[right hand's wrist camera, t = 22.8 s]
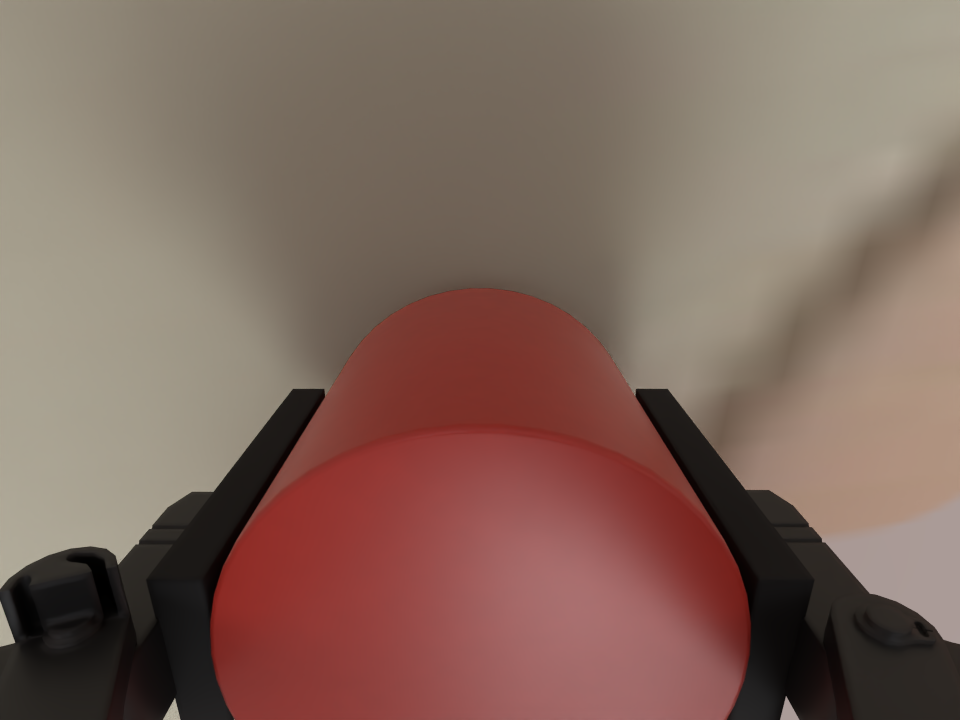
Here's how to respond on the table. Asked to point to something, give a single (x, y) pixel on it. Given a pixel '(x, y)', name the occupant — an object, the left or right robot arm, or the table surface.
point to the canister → (480, 541)
